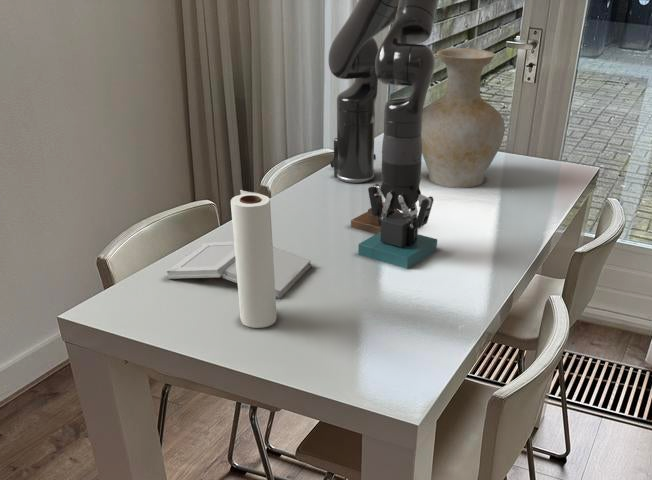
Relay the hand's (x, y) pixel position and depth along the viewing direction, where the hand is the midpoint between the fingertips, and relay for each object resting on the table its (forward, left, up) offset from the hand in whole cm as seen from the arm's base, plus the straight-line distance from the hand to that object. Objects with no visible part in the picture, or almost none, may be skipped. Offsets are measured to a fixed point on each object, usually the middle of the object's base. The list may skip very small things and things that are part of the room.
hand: (398, 241), depth 155 cm
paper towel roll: (-4, -38, -3) cm, 38 cm away
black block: (0, 0, -2) cm, 2 cm away
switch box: (-10, +10, -2) cm, 14 cm away
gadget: (-19, -26, -3) cm, 32 cm away
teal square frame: (0, 0, -2) cm, 2 cm away
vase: (-13, +49, -3) cm, 51 cm away
